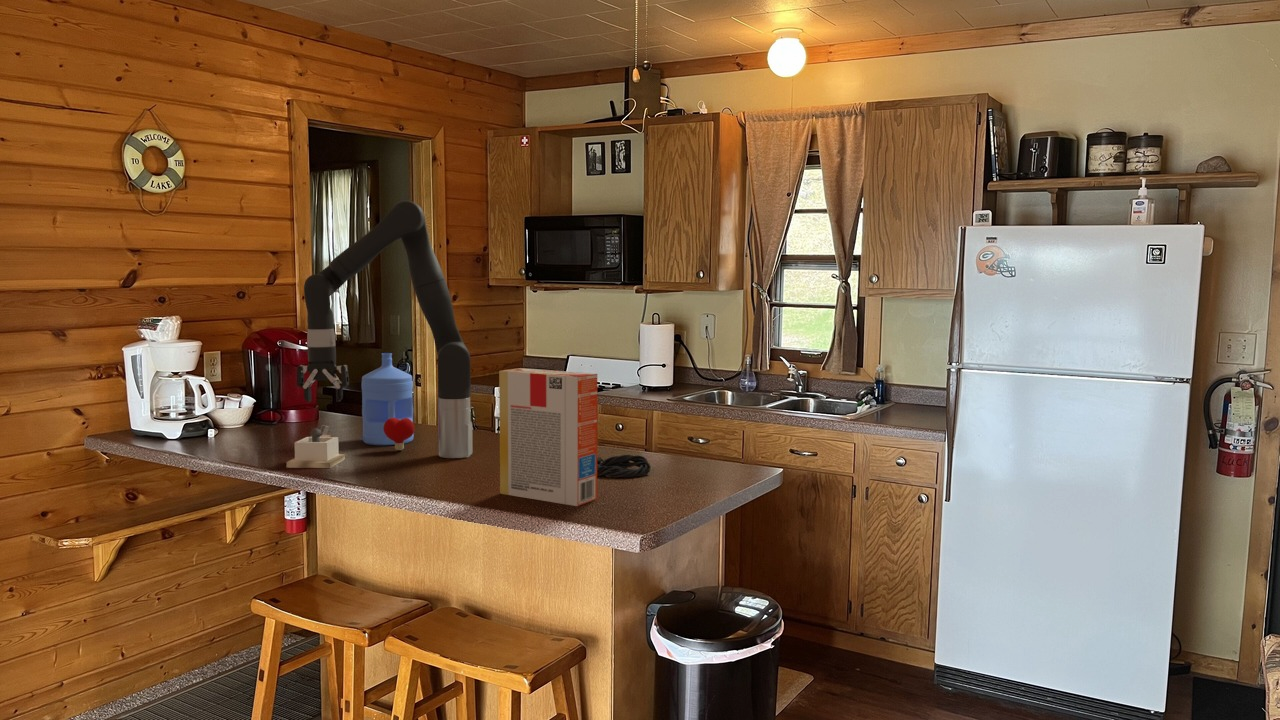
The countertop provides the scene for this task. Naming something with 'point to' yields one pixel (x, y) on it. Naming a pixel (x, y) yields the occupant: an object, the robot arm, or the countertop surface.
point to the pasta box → (548, 435)
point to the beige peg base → (316, 464)
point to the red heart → (399, 431)
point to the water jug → (385, 400)
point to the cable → (623, 466)
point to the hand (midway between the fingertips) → (323, 401)
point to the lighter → (323, 430)
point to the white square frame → (316, 449)
